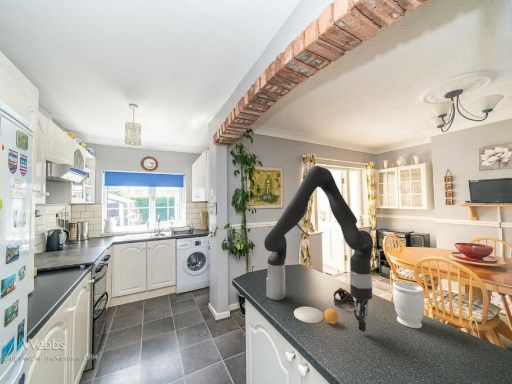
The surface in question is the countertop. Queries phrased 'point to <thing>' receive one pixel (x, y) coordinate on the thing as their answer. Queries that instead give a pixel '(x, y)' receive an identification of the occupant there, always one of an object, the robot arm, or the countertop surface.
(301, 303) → the countertop surface
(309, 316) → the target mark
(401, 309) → the jar
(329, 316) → the ball
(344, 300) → the pottery mug
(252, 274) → the countertop surface
